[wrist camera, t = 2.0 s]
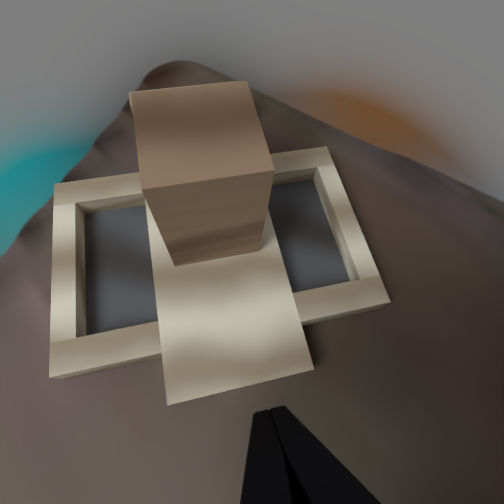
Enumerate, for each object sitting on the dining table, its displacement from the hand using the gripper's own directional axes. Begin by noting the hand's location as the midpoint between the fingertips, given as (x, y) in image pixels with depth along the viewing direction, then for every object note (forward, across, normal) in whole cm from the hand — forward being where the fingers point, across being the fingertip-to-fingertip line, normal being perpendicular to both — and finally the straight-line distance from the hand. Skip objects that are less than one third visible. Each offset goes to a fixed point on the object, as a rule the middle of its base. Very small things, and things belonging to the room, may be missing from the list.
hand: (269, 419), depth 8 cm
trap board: (+19, 0, +1) cm, 19 cm away
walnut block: (+17, 0, -1) cm, 17 cm away
